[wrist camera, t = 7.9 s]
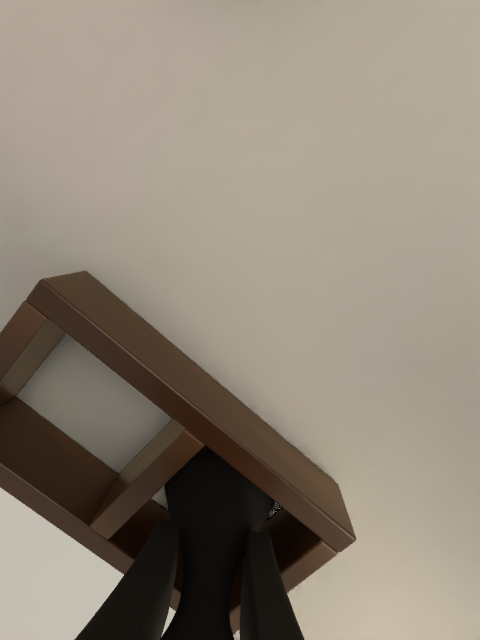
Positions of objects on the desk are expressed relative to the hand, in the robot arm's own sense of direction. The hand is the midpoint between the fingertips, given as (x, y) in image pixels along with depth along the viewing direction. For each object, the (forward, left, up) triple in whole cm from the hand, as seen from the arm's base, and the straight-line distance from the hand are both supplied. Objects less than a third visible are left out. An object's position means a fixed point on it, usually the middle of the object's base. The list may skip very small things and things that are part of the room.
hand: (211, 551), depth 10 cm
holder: (+2, +2, -3) cm, 4 cm away
